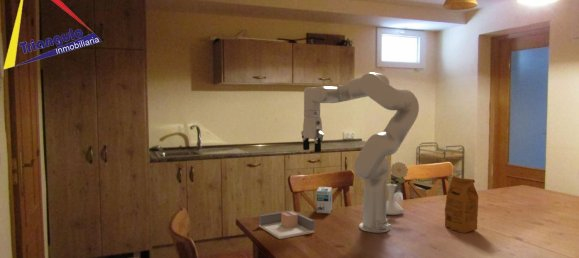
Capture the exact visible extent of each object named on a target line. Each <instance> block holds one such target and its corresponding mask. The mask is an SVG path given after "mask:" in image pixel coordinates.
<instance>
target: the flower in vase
mask: <svg viewBox="0 0 579 258" xmlns="http://www.w3.org/2000/svg"><path fill="white" fill-rule="evenodd" d="M389 171H390V173H391V174H392V176H393V177H395V178H396V179H395V181H394V180H392V179H390V178H388V179H387V181H389V182H392V183H387V190H388V199H387V204H386V215H390V216H391V215H392V216H396V215H401V214H403V213H404V212H405V210H404V208H403V207H402V206H401V205H400V204H398V202H397V201H396V200H395V191H396V188H397V186H398V184H397V183H396V181H397V182H398V183H400V184H403V183H406V182H407V181H406V179H405V178H404V177H406V176H407V174H408V171H409V169H408V167H407V166H406V164H405V163H403V162H401V161H397V162H394V163H392V164H391V167H390V169H389ZM395 183H396V184H395Z"/></svg>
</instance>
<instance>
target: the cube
mask: <svg viewBox="0 0 579 258" xmlns="http://www.w3.org/2000/svg"><path fill="white" fill-rule="evenodd" d="M281 225H283V226H284V227H286V228H290V227H296V226H298V214H296V213H294V212H286V213H281Z"/></svg>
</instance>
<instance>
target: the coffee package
mask: <svg viewBox="0 0 579 258" xmlns="http://www.w3.org/2000/svg"><path fill="white" fill-rule="evenodd" d="M475 182H476V181H475V179H473V178H462V177H459V176H457V175H455V174H454V175H452V178H451V180H450V183H449V187H448V190H447V192H446V200H445V207H444V227H445V226H446V227H445V228H448V227H449V229H451V230H452V231H453V230H455V231H454V232H457V231H459V232H458V233H461V232H462V234H466V233H469V232H473V231H474V232H475V231H477V230H478V215H479V213H478V210H479V194H478V191H477V189H476V187H475Z"/></svg>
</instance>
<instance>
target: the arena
mask: <svg viewBox="0 0 579 258" xmlns="http://www.w3.org/2000/svg"><path fill="white" fill-rule="evenodd" d="M286 212H294V213H296V214H298V226H296V227H290V228H286V227H284V226H283V225H281V213H286ZM258 217H259V218H258V219H259V222H258V224H259V226H258V227H259V228H260V229H262V230H263V231H266V232H267V233H269V234H270V235H271V236H273V237H275V238H277V239H279V240H282V239H288V238H293V237H298V236H302V235H308V234H314V233H315V219H312V218H309V217H307V216H305V215H303V214H301V213H299V212H296V211H295V210H293V209H291V210H285V211H278V212H271V213H270V212H269V213H266V214H259V215H258Z"/></svg>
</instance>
